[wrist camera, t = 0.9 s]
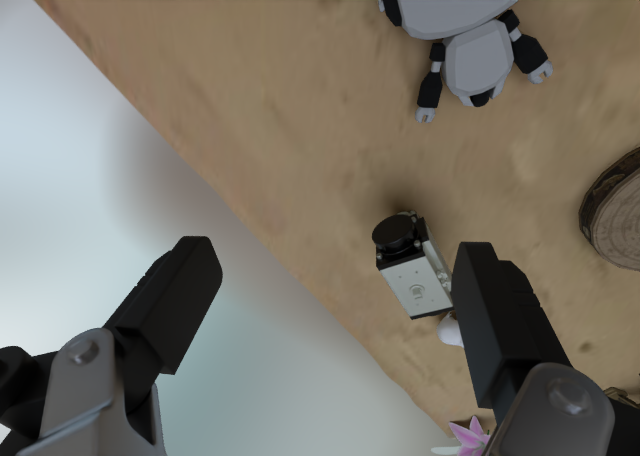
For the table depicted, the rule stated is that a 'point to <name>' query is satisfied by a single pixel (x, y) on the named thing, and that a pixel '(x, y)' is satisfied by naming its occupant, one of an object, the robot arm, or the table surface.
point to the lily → (470, 438)
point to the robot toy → (467, 48)
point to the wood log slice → (615, 213)
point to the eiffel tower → (620, 396)
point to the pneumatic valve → (413, 265)
